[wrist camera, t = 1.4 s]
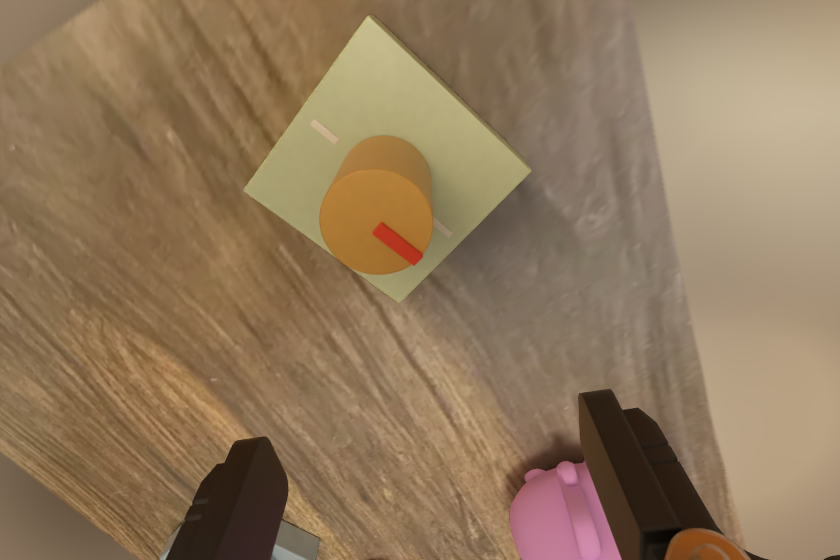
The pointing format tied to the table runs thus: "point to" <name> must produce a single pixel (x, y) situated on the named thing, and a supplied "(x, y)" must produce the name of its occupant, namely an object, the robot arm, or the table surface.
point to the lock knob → (379, 207)
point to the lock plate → (389, 116)
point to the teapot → (561, 517)
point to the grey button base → (278, 544)
